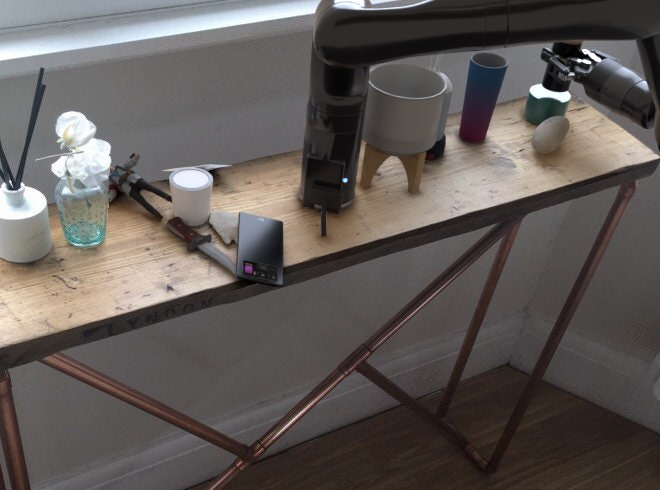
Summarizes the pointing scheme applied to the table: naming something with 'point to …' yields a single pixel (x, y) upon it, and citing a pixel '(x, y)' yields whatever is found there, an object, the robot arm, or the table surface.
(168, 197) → the action figure
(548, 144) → the stone
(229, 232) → the arrowhead
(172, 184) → the white cylinder
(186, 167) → the diorama
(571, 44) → the tall tin
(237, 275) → the smartphone
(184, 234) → the knife
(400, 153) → the planter
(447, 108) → the white tall piece
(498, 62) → the cup
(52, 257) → the table surface
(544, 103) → the squat tin
